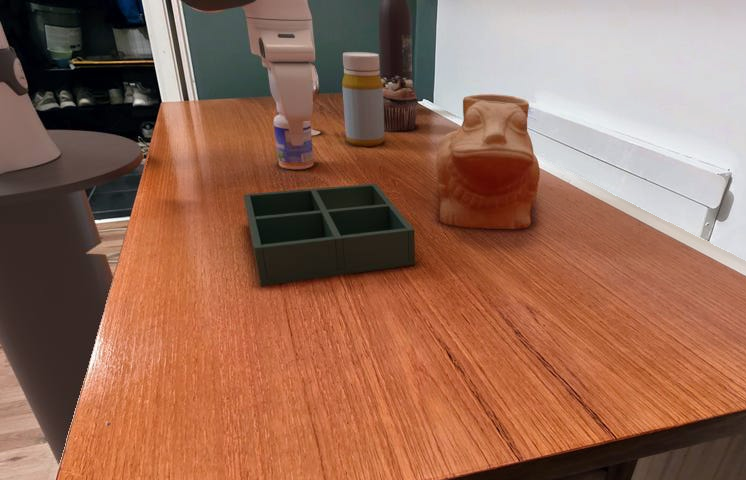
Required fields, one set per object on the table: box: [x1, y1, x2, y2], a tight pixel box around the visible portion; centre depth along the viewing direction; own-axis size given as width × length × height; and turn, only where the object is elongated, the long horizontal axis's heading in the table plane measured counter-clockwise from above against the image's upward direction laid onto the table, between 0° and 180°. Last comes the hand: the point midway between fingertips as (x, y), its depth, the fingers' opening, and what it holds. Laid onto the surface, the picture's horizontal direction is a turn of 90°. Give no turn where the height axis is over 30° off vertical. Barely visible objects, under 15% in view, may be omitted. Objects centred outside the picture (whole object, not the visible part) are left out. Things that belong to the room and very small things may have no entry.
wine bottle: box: [378, 0, 413, 81], centre depth 120 cm, size 7×7×30 cm
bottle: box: [341, 51, 385, 147], centre depth 98 cm, size 7×7×15 cm
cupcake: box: [380, 75, 419, 132], centre depth 111 cm, size 10×10×10 cm
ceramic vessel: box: [435, 93, 541, 230], centre depth 72 cm, size 14×26×15 cm, turn 179°
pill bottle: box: [273, 102, 315, 170], centre depth 85 cm, size 5×5×10 cm
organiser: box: [242, 183, 416, 287], centre depth 61 cm, size 16×16×4 cm
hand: (294, 139), depth 85 cm, fingers closed on pill bottle, 5 cm apart
